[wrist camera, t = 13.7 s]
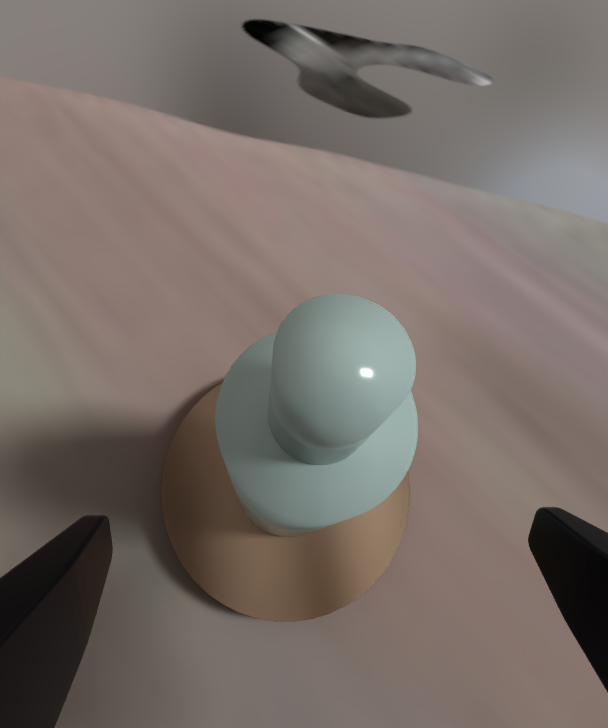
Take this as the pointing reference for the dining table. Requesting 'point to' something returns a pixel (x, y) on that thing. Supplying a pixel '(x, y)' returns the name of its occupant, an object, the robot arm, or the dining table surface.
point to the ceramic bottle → (319, 416)
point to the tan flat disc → (266, 536)
